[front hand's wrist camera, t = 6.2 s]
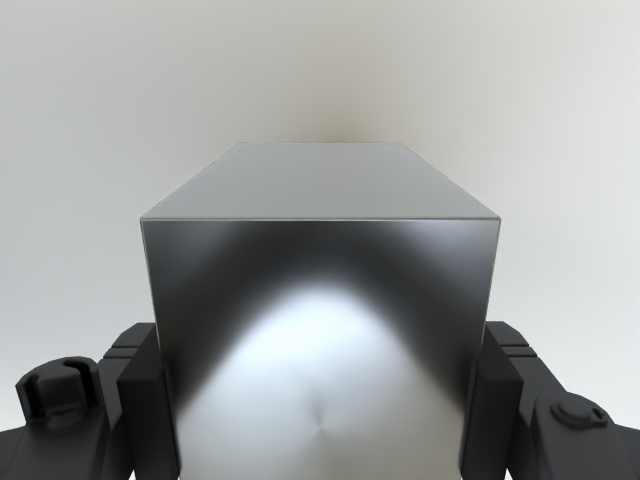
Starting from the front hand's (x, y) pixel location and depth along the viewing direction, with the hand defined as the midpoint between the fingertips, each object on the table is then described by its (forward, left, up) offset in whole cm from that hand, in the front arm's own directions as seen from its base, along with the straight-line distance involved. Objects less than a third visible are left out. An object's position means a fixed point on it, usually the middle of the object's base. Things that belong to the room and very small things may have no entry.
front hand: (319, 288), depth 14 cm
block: (0, 0, -3) cm, 3 cm away
